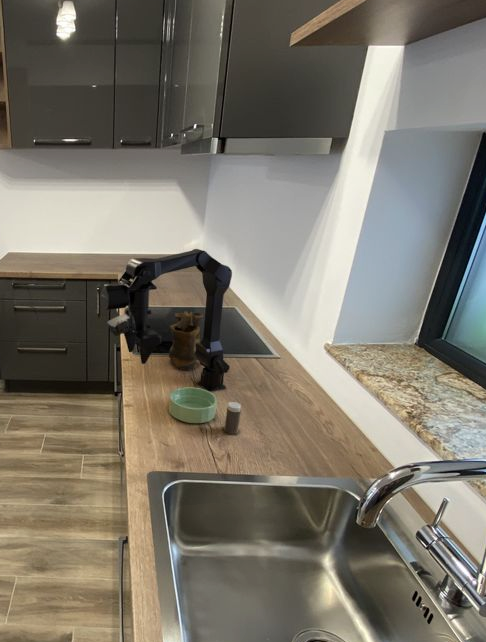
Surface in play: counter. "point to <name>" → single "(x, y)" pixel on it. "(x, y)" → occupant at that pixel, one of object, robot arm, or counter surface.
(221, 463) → the counter surface
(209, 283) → the robot arm
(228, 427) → the shaker
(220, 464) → the counter surface
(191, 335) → the pottery vessel
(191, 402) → the bowl
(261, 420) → the counter surface
